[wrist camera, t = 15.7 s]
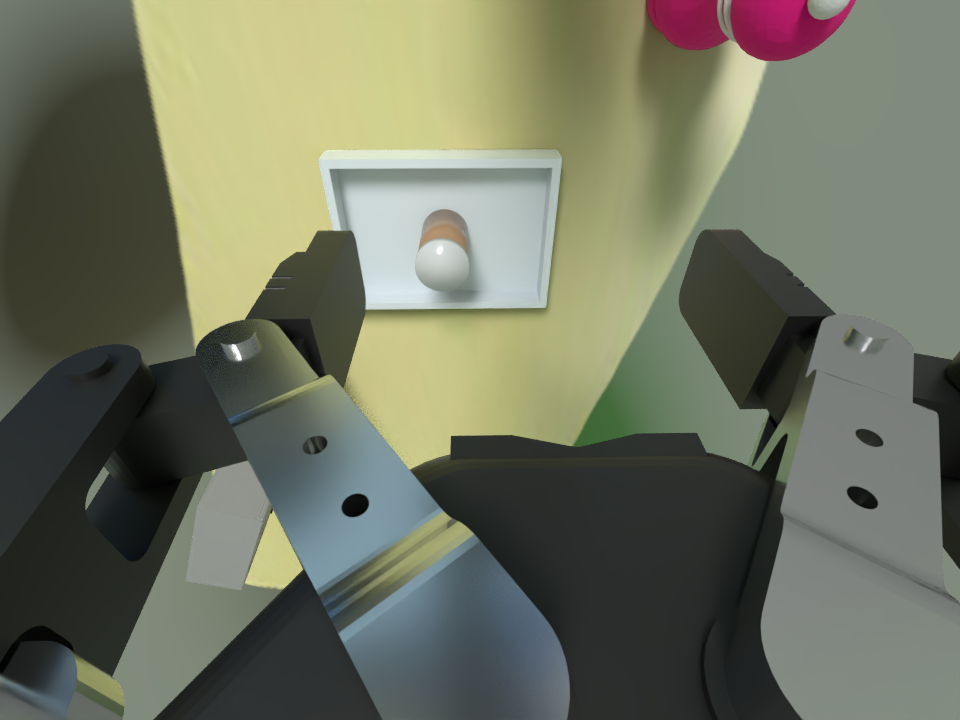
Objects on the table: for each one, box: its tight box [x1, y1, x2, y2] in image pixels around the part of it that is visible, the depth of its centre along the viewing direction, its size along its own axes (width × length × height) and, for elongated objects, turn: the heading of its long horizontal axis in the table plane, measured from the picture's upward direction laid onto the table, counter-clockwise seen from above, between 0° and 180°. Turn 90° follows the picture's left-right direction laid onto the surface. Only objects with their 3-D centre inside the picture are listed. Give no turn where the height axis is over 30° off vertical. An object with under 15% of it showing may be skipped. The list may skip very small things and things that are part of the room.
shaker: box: [415, 209, 469, 292], centre depth 46 cm, size 5×5×8 cm
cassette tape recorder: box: [186, 461, 273, 590], centre depth 52 cm, size 14×6×25 cm, turn 155°
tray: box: [318, 149, 562, 310], centre depth 48 cm, size 16×22×3 cm
